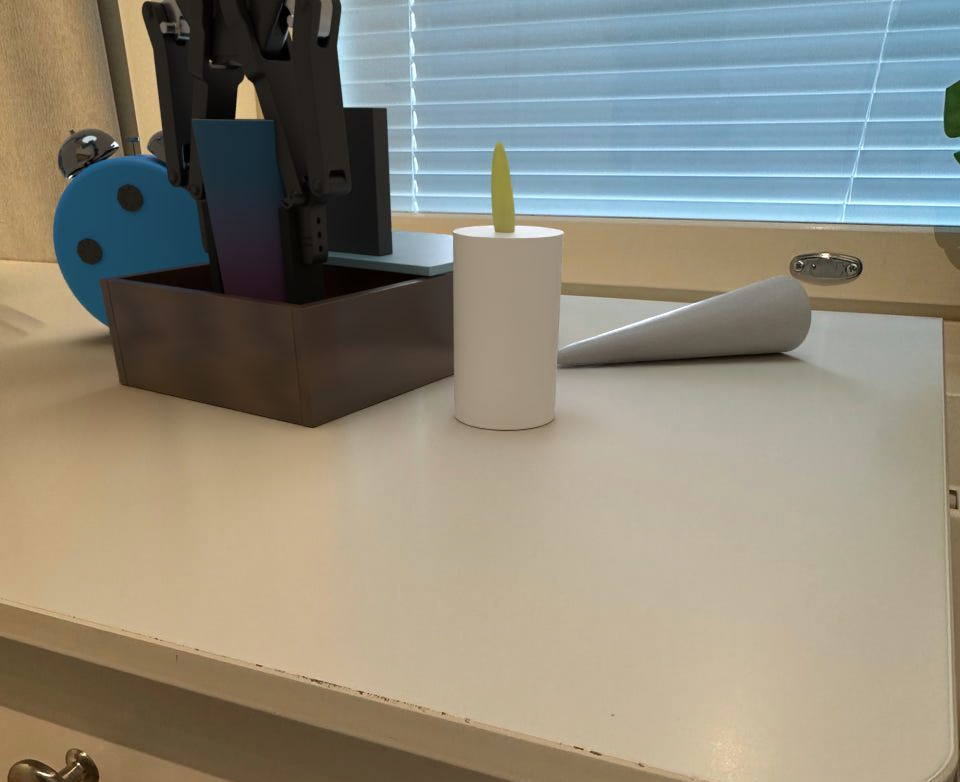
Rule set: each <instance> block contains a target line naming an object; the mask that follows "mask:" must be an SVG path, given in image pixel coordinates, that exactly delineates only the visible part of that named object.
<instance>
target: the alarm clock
mask: <svg viewBox="0 0 960 782" xmlns="http://www.w3.org/2000/svg"><path fill="white" fill-rule="evenodd" d="M68 132H69V134H70V135H69V136H68V137H67V138H66V139H64V140H63V142H62V143H61V145H60V147H59V149H58V151H57V158H56V159H57V161H56V162H57V167H58V171H59V173H60V174H61V176H62V178H63V179H64V181H68V180H71V181H70V182H69V183H68V184H67V186H66V187H65V189H64V190H63V192H62V193H61V195H60V198H59V200H58V203H57V205H56V208H55V211H54V216H53V224H52V239H53V241H52V242H53V248H54V254H55V259H56V262H57V265H58V268H59V270H60V273H61V275H62V277H63V279H64V282H65V283H66V285H67V287H68V288H69V290H70V292H71V293H72V294H73V296H74V298H76V300H77V301H78V303H79V304H80V305H81V306H82V307H83V308H84V309H85V311H86V312H88V313H89V314H90V315H91V316H92V317H94V318H95V319H96V320H97V321H98V322H100V323H101V324H103V325H104V326H105V327H108V328H109V326H108V321H107V316H106V311H105V306H104V301H103V296H102V291H101V286H100V281H99V279H101V278H107V277H114V276H120V275H126V274H133V273H139V272H145V271H152V270H158V269H164V268H171V267H177V266H184V265H190V264H196V263H203V262H209V255H208V253H205V250H204V247H203V245H202V239H201V232H200V229H201V228H200V225H199V217H198V210H197V204H196V201H195V199H193V198H192V196H191V195H190V192H188V191H186V190H185V189H183V188H181V187H173V186H172V185H171V184H170V182H169V180H168V175H167V167H166V158H165V149H164V141H163V132H162V129H161V130H158V131H157V132H155V133H153V134H152V135H151V136H150V138H149V139H148V142H147V144H146V149H147V151H148V153H151V154H148V153H146V154H145V153H142V154H136V148H135V143H140V142H141V139H140V136H124V141H125V142H126V143H132V148H133V154H130V155H129V154H128V155H124V156H117V157H112V156H113V155H115V154H116V153H117V152H118V151H119V150H120V149H121V145H120V144H119V142H118V141H117V139H116V138H115V137H114V136H113V135H111V134H110V133H109V132H107V131H105V130H102V129H99V128H84V129H80V130H78V131H75V130H74V129H71V130H69V131H68ZM111 157H112V158H111ZM184 164H185V166H190V165H189V163H187V162H185V163H184Z"/></svg>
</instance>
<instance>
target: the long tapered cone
mask: <svg viewBox="0 0 960 782" xmlns="http://www.w3.org/2000/svg"><path fill="white" fill-rule="evenodd" d="M811 305H812V304H811V301H810V298H809V295H808V293H807V291H806V288H804V286H803V285H802V283H800V281H799V280H797V279H796V278H794V277H792V276H789V275H786V274H785V275H784V274H779V275H775V276H773V277H769V278H766V279H763V280H759V281H756V282H754V283H751V284H747V285H745V286H742V287H739V288H737V289H734V290H731V291H728V292H725V293H722V294H718V295H714V296H712V297H710V298H707V299H703V300H700V301H697V302H694V303H692V304H688V305H685V306H682V307H679V308H677V309H676V308H675V309H673V310H671V311H668V312H664V313H662V314H658V315H656V316H652V317H649V318H646V319H643V320H641V321H637V322H635V323H631V324H628V325H625V326H622V327H620V328H615V329H613V330H609V331H607V332H604V333H601V334H599V335H595V336H593V337H589V338H586V339H582V340H580V341H576V342H573V343H571V344H568V345H566V346H563V347H561V348H558V357H557V366H558V365H559V366H585V365H602V364H616V363H617V364H618V363H619V364H620V363H633V362H648V361H664V360H665V361H666V360H677V359H678V360H681V359H693V358H694V359H696V358H713V357H726V356H727V357H728V356H741V355H742V356H743V355H762V354H778V353H789V352H792V351H794V350H796V349H797V348H799V347H800V346H801V345H802V344H803V343H804V341H805V339H806V338H807V336H808V334H809V331H810V328H811V325H812V306H811Z"/></svg>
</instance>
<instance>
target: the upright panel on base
mask: <svg viewBox="0 0 960 782" xmlns="http://www.w3.org/2000/svg"><path fill="white" fill-rule="evenodd" d="M343 107H344V116H345V126H346V136H347V145H348V155H349V164H350V174H351V190H350V192H349V193H348V194H345V195H340V196H338V197H336V198H334V199H331V200H330V201H329V202H328V203H327V205H326V209H325V214H326V227H327V240H328V243H327V244H328V258H327V262H325V263H322V264H327V265H336V266H344V267H353V268H362V269H370V270H379V271H388V272H397V273H405V274H414V275H423V276H433V275H438V274H442V273H446V272H451V271H453V234H443V233H434V232H433V233H431V232H422V231H421V232H419V231H408V230H400V229H399V230H397V229H393V225H392V221H393V220H392V200H391V197H392V196H391V176H390V175H391V173H390V171H391V170H390V150H389V149H390V147H389V145H390V144H389V125H388V123H389V122H388V121H389V119H388V108H387V107H370V106H369V107H367V106H366V107H359V106H357V107H355V106H354V107H353V106H352V107H351V106H350V107H349V106H348V107H347V106H343Z"/></svg>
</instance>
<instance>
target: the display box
mask: <svg viewBox="0 0 960 782" xmlns="http://www.w3.org/2000/svg"><path fill="white" fill-rule="evenodd" d="M322 268H323V281H324V294H325V300H321V301H317V302H312V303H308V304H303V305H297V304H290V303H283V302H276V301H269V300H262V299H255V298H248V297H241V296H234V295H227V294H221V293H214V291H213V284H212V277H211V270H210V262H203V263H196V264H190V265H184V266H177V267H171V268H164V269H158V270H152V271H145V272H139V273H133V274H126V275H120V276H114V277H107V278H101V279H99V281H100V286H101V291H102V296H103V301H104V306H105V311H106V316H107V321H108V326H109V327H108V331H109V335H110V341H111V345H112V350H113V355H114V361H115V366H116V370H117V376H118V380H119V384H120V385H123V386H128V387H129V386H130V387H134V388H139V389H143V390H147V391H151V392H156V393H162V394H165V395H168V396H174V397H178V398H182V399H186V400H191V401H195V402H201V403H204V404H210V405H212V406H213V405H214V406H217V407H222V408H227V409H230V410H236V411H239V412H244V413H250V414H254V415H258V416H261V417H267V418H271V419H276V420H278V421H279V420H280V421H285V422H287V423H292V424H298V425H302V426H306V427H310V428H314V427H317V426H320V425H323V424H325V423H328V422H330V421H333V420H336V419H338V418H341V417H344V416H347V415H349V414H352V413H354V412H357V411H359V410H362V409H365V408H367V407H370V406H373V405H375V404H378V403H380V402H383V401H386V400H388V399H391V398H394V397H397V396H399V395H401V394H404V393H407V392H409V391H413V390H415V389H418V388H420V387H423V386H426V385H428V384H430V383H434V382H435V381H436V382H437V381H439V380H441V379H444V378H447V377H449V376H452V375H454V309H453V271H451V272H446V273H442V274H438V275H433V276H423V275H414V274H405V273H397V272H388V271H379V270H370V269H362V268H353V267H344V266H336V265H327V264H322Z"/></svg>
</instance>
